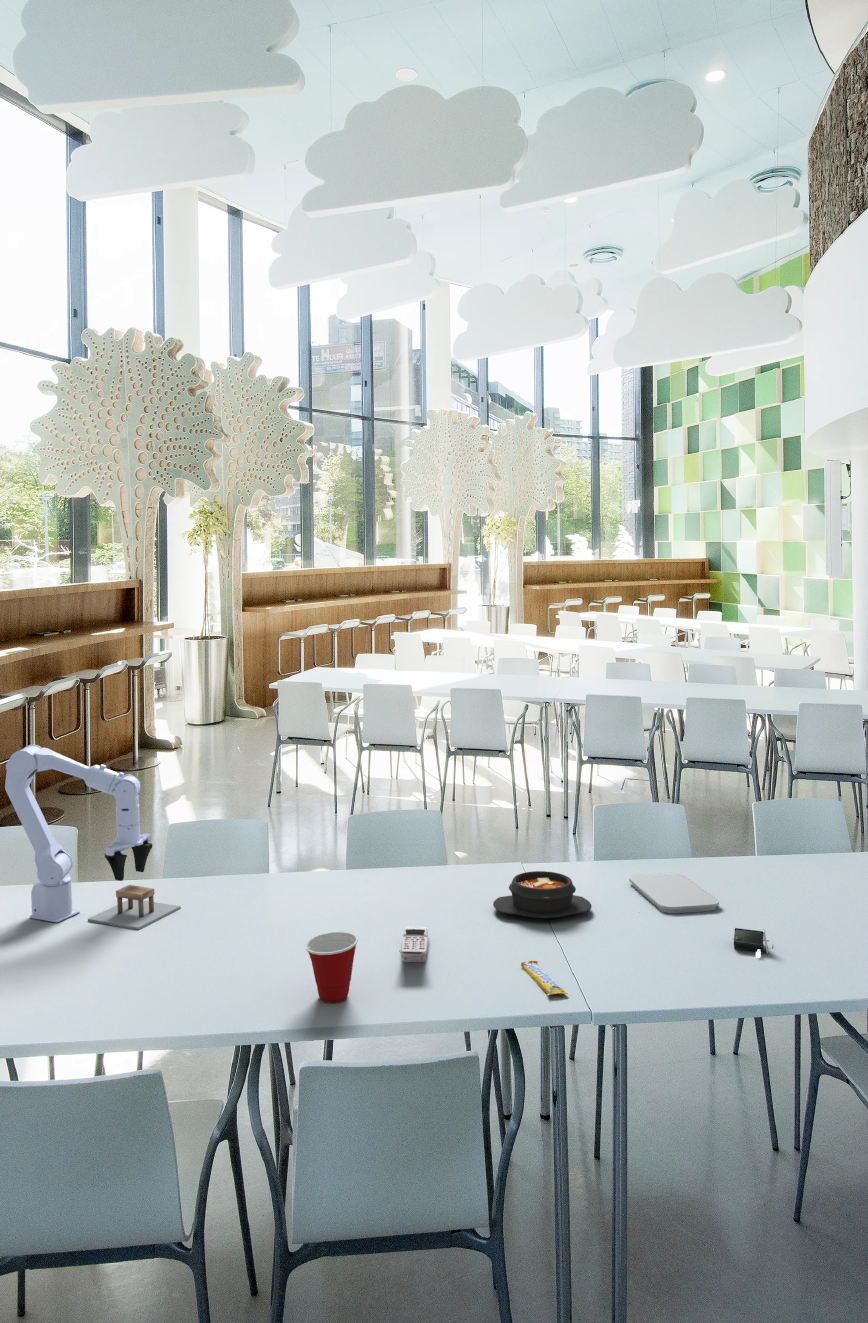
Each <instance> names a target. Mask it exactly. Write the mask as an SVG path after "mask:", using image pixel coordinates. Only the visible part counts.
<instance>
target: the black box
mask: <svg viewBox="0 0 868 1323" xmlns="http://www.w3.org/2000/svg"><path fill="white" fill-rule="evenodd" d="M765 930H766V929H764V928H763V930H754V929H745V928H739V927H738V928H737V927H734V936H733V948H734V949H735V950H736V949H738V950H745V951H752V952H755V958H756V959H760V958H761V957H762V954H761V953H764V945H765V950H766V955H769V946H768V942H770V940H767V934H766V931H765ZM773 947H774V945H772V947H771V949H773Z"/></svg>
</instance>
